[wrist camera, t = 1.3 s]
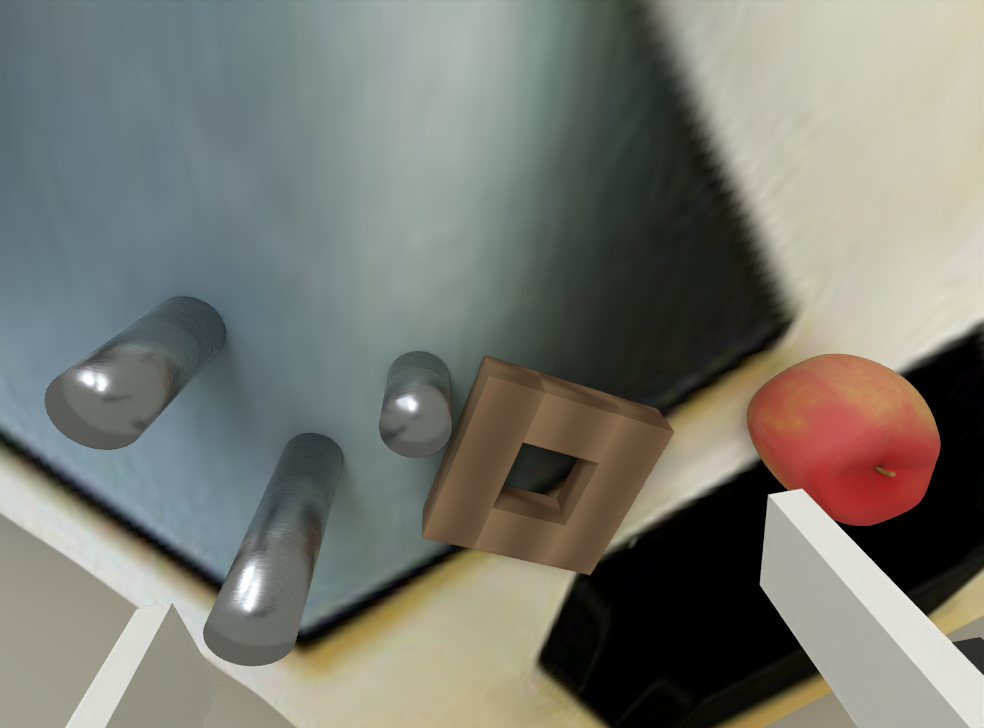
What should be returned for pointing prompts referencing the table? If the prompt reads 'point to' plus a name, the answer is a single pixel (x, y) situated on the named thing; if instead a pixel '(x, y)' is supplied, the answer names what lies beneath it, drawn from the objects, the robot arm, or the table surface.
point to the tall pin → (277, 557)
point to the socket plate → (551, 425)
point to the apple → (846, 437)
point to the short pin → (416, 405)
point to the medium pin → (134, 374)
